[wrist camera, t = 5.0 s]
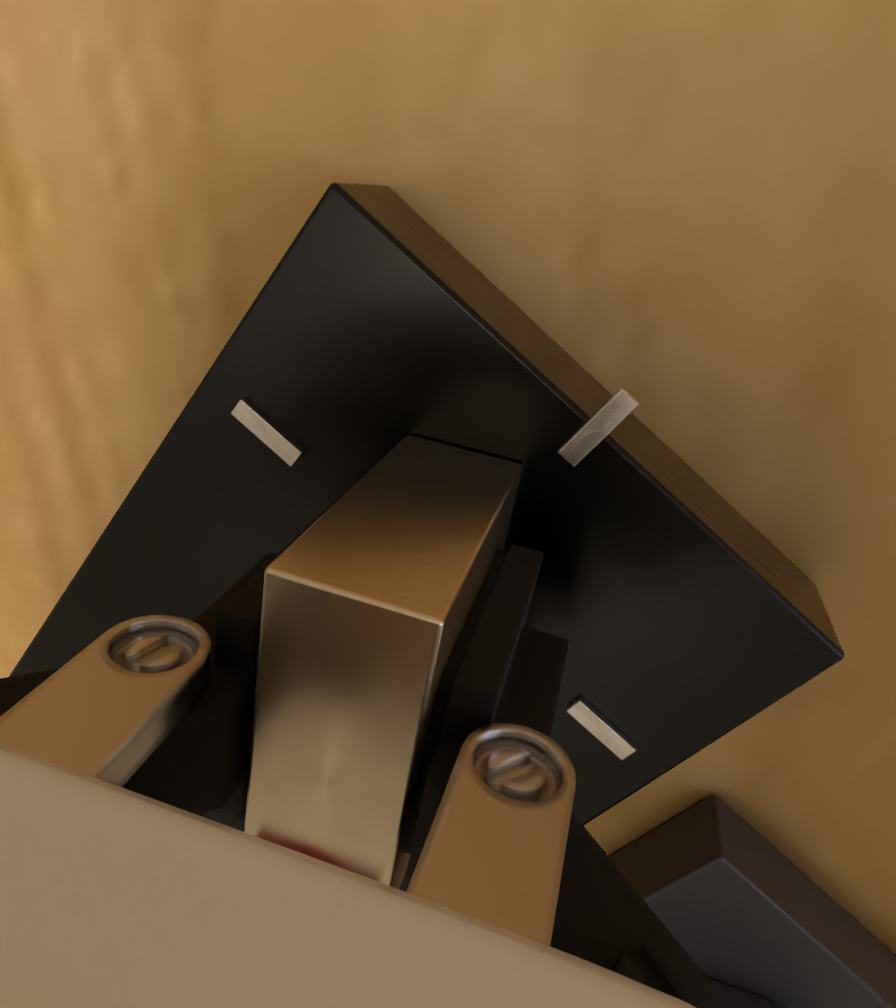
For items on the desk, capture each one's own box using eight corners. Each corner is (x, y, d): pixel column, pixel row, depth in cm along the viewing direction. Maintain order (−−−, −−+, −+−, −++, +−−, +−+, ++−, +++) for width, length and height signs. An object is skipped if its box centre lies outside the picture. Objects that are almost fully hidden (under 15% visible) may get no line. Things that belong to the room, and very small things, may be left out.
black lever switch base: (408, 149, 13) (352, 138, 10) (849, 562, 14) (890, 638, 11) (78, 627, 19) (-2, 686, 17) (388, 888, 20) (352, 980, 18)
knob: (407, 432, 12) (251, 578, 7) (524, 463, 12) (437, 635, 7) (367, 680, 14) (227, 914, 10) (465, 712, 14) (369, 969, 9)
